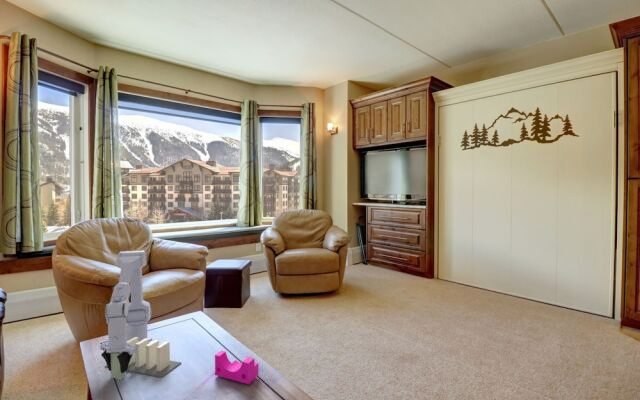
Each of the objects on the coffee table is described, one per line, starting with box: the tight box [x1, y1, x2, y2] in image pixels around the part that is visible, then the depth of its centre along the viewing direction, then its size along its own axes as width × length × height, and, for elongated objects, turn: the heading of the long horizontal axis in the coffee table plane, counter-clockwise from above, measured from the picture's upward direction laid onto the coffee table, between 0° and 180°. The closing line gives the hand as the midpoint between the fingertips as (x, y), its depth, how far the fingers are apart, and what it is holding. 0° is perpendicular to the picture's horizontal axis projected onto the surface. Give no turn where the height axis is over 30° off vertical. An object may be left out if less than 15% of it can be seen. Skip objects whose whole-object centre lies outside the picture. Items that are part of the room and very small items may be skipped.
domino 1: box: [127, 337, 139, 366], centre depth 127 cm, size 2×5×9 cm, turn 165°
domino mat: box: [104, 360, 182, 378], centre depth 125 cm, size 27×10×1 cm, turn 75°
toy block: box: [214, 350, 259, 385], centre depth 119 cm, size 15×6×8 cm, turn 67°
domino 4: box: [156, 341, 171, 371], centre depth 123 cm, size 2×5×9 cm, turn 164°
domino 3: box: [146, 339, 160, 369], centre depth 124 cm, size 2×5×9 cm, turn 164°
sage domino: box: [110, 352, 127, 380], centre depth 117 cm, size 2×5×9 cm, turn 74°
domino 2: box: [135, 338, 150, 368], centre depth 125 cm, size 2×5×9 cm, turn 164°
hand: (118, 370), depth 117 cm, fingers closed on sage domino, 5 cm apart
